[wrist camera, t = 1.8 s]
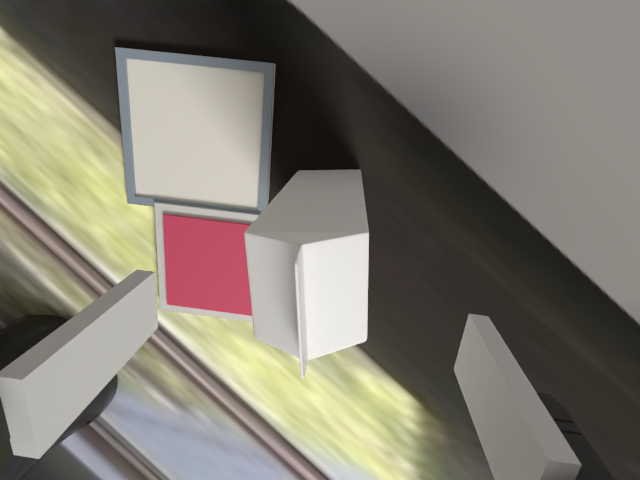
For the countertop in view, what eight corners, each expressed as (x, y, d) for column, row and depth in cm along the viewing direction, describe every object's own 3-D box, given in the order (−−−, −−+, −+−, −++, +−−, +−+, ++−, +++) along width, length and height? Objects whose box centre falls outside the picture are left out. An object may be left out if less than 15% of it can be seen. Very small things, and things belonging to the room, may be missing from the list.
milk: (360, 168, 35) (377, 255, 14) (360, 230, 37) (373, 385, 16) (296, 169, 35) (220, 254, 15) (299, 230, 37) (236, 381, 17)
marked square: (131, 201, 38) (127, 203, 37) (120, 48, 33) (114, 47, 32) (267, 217, 37) (265, 220, 36) (275, 64, 32) (273, 63, 32)
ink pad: (165, 304, 42) (158, 311, 40) (160, 199, 37) (152, 203, 36) (271, 318, 41) (268, 326, 40) (277, 214, 37) (274, 218, 35)
